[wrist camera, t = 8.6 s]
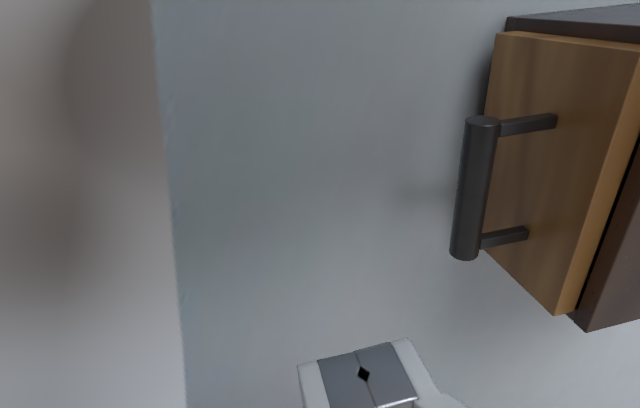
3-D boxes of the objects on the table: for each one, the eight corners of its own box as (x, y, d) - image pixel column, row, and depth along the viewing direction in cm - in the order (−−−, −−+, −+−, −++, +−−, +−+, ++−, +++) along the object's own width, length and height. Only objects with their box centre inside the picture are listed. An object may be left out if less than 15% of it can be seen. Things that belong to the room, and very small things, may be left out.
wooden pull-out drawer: (408, 244, 25) (477, 336, 18) (419, 41, 18) (530, 66, 12) (633, 198, 27) (765, 263, 21) (708, 9, 21) (929, 14, 15)
